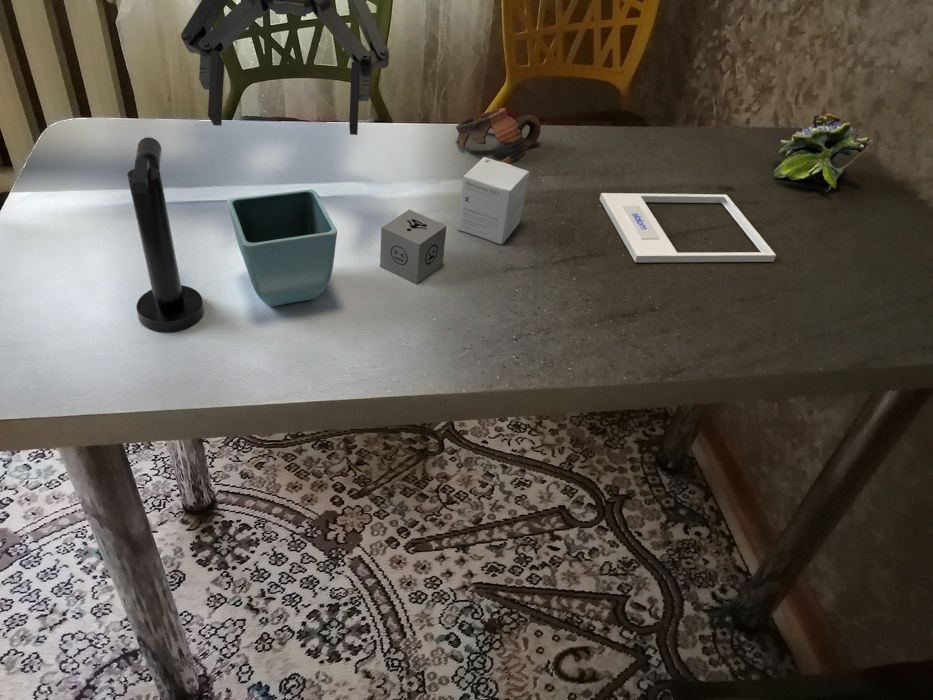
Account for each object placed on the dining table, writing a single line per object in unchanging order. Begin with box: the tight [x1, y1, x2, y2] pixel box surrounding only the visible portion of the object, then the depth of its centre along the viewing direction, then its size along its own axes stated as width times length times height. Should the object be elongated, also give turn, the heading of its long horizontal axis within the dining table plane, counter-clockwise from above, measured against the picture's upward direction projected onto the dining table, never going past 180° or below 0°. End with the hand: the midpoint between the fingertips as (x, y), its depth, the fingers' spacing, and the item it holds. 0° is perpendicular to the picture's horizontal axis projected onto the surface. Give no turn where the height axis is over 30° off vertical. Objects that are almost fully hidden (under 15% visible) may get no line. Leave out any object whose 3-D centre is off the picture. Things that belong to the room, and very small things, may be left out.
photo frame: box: [599, 192, 777, 263], centre depth 94 cm, size 15×1×18 cm
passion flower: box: [773, 113, 874, 193], centre depth 107 cm, size 11×11×12 cm
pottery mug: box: [455, 107, 542, 165], centre depth 103 cm, size 12×10×8 cm
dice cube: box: [379, 209, 447, 285], centre depth 81 cm, size 5×5×5 cm
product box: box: [457, 156, 530, 245], centre depth 88 cm, size 6×6×7 cm
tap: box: [126, 136, 205, 333], centre depth 69 cm, size 11×6×16 cm, turn 14°
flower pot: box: [227, 189, 338, 307], centre depth 74 cm, size 9×9×9 cm
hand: (284, 125), depth 75 cm, fingers open, 13 cm apart
